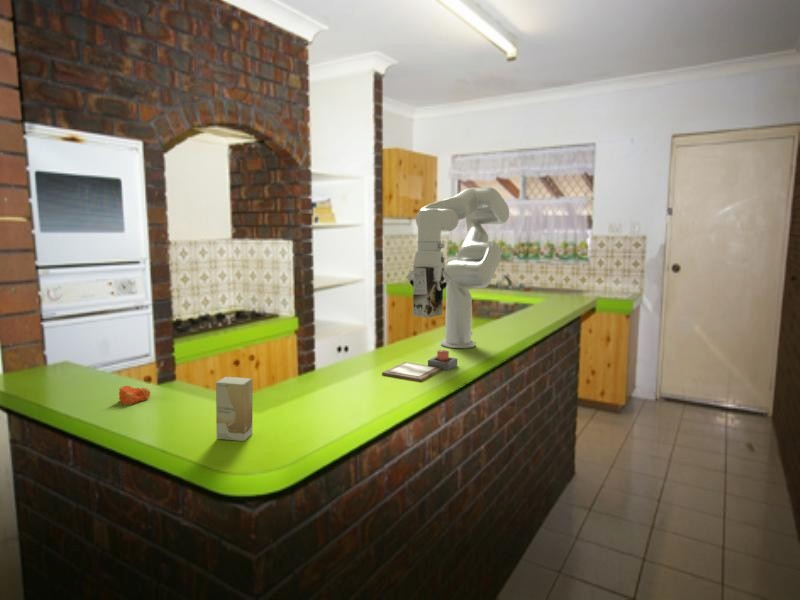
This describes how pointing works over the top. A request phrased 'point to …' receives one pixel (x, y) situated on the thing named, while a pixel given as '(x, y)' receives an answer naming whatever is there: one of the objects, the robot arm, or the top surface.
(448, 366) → the button collar
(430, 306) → the coffee box
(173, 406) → the top surface
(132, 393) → the rock
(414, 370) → the board
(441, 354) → the button
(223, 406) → the skincare box
